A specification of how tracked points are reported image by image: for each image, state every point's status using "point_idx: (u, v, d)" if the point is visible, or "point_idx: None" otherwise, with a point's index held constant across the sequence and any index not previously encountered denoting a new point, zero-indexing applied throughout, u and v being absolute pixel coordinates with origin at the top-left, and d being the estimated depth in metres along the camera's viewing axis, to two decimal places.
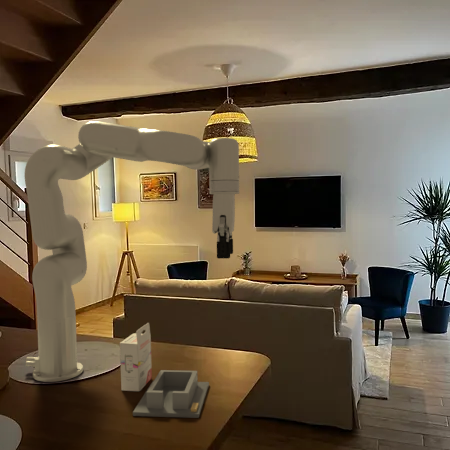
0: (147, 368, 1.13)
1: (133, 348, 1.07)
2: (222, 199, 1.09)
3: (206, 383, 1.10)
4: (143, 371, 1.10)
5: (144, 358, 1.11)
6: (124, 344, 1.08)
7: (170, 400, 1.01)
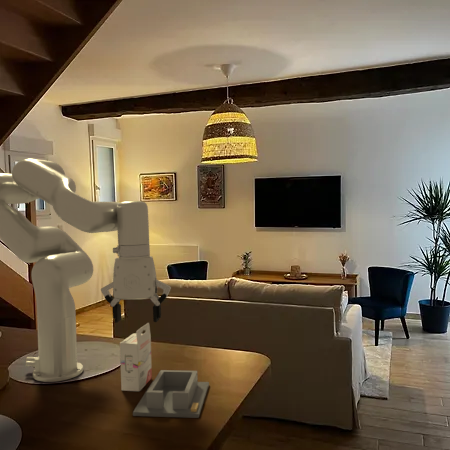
0: (147, 368, 1.13)
1: (133, 348, 1.07)
2: (153, 262, 1.10)
3: (206, 383, 1.10)
4: (143, 371, 1.10)
5: (144, 358, 1.11)
6: (124, 344, 1.08)
7: (170, 400, 1.01)
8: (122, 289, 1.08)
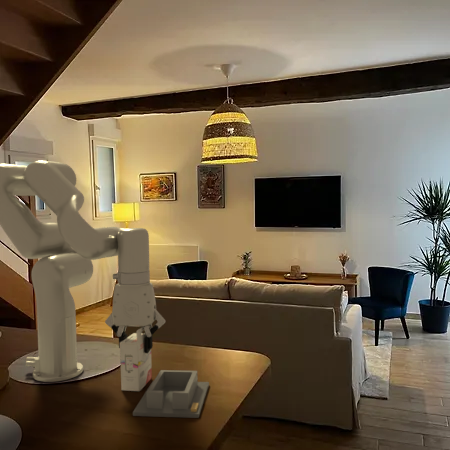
0: (147, 368, 1.13)
1: (133, 348, 1.07)
2: (153, 290, 1.11)
3: (206, 383, 1.10)
4: (143, 371, 1.10)
5: (144, 358, 1.11)
6: (125, 344, 1.08)
7: (170, 400, 1.01)
8: (121, 316, 1.09)
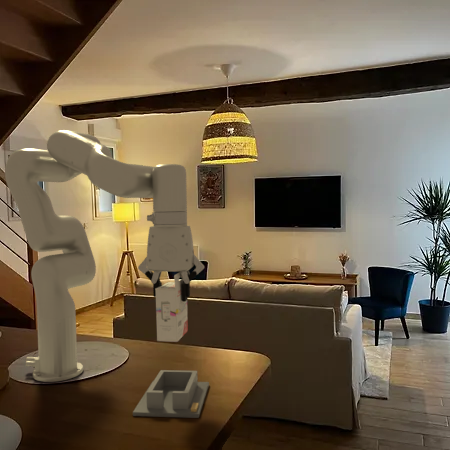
0: (184, 319, 1.03)
1: (170, 294, 0.98)
2: None
3: (206, 383, 1.10)
4: (181, 320, 1.01)
5: (181, 307, 1.01)
6: (161, 289, 0.98)
7: (170, 400, 1.01)
8: (157, 260, 0.99)
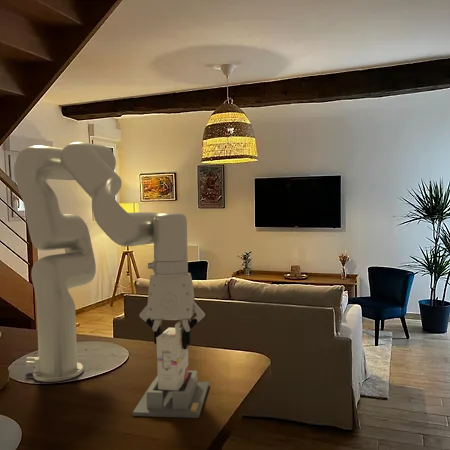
0: (184, 365, 1.03)
1: (171, 344, 0.98)
2: (191, 280, 1.01)
3: (206, 383, 1.10)
4: (181, 368, 1.01)
5: (182, 354, 1.02)
6: (162, 339, 0.99)
7: (170, 400, 1.01)
8: (158, 309, 1.00)
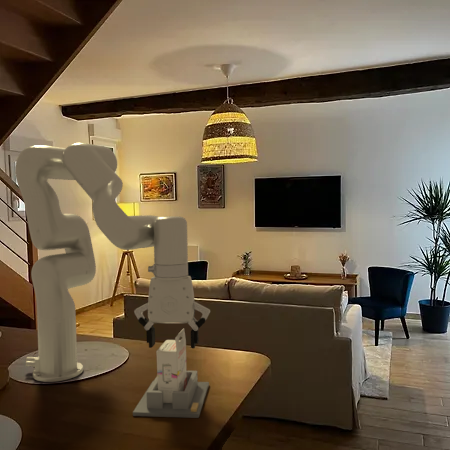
0: (183, 378, 1.04)
1: (172, 357, 0.98)
2: (191, 283, 1.01)
3: (206, 383, 1.10)
4: (181, 381, 1.01)
5: (181, 367, 1.02)
6: (162, 352, 0.99)
7: None
8: (158, 312, 1.00)
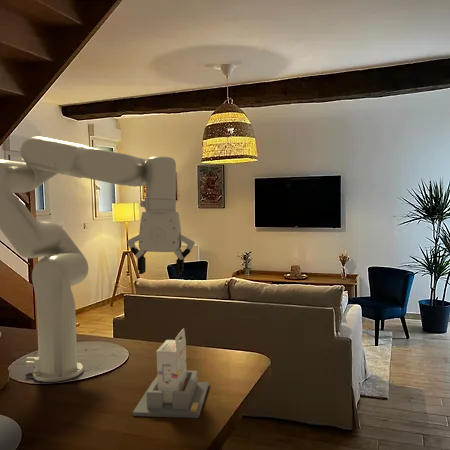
0: (183, 378, 1.04)
1: (172, 357, 0.98)
2: (178, 218, 1.13)
3: (206, 383, 1.10)
4: (181, 381, 1.01)
5: (181, 367, 1.02)
6: (162, 352, 0.99)
7: None
8: (147, 241, 1.12)
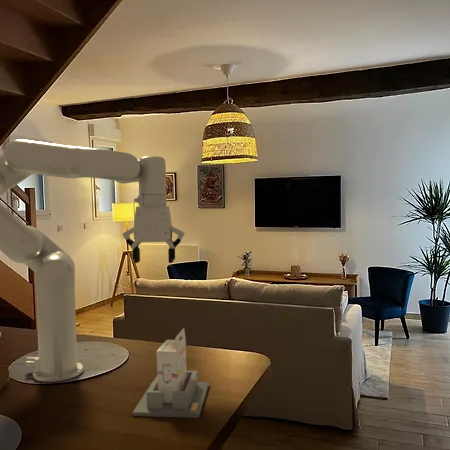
0: (183, 378, 1.04)
1: (172, 357, 0.98)
2: (169, 211, 1.26)
3: (206, 383, 1.10)
4: (181, 381, 1.01)
5: (181, 367, 1.02)
6: (162, 352, 0.99)
7: None
8: (142, 233, 1.24)
